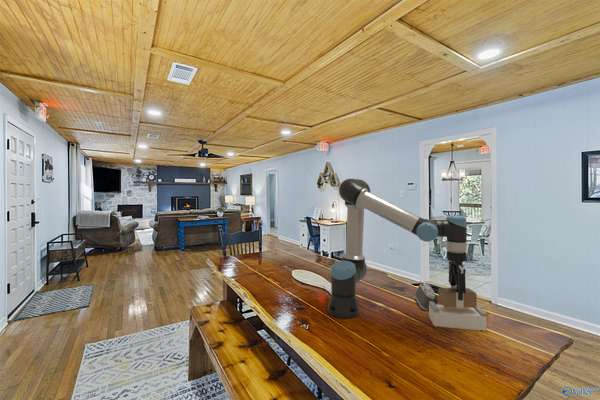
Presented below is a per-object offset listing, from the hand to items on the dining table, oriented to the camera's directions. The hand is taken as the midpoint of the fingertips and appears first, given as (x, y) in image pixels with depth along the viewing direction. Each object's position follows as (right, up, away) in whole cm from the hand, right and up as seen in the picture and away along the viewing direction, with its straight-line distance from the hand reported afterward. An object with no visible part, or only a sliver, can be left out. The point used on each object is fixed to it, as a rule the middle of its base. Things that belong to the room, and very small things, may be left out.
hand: (456, 303), depth 117 cm
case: (0, 0, 0) cm, 0 cm away
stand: (0, -9, 0) cm, 9 cm away
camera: (-3, -9, +20) cm, 22 cm away
